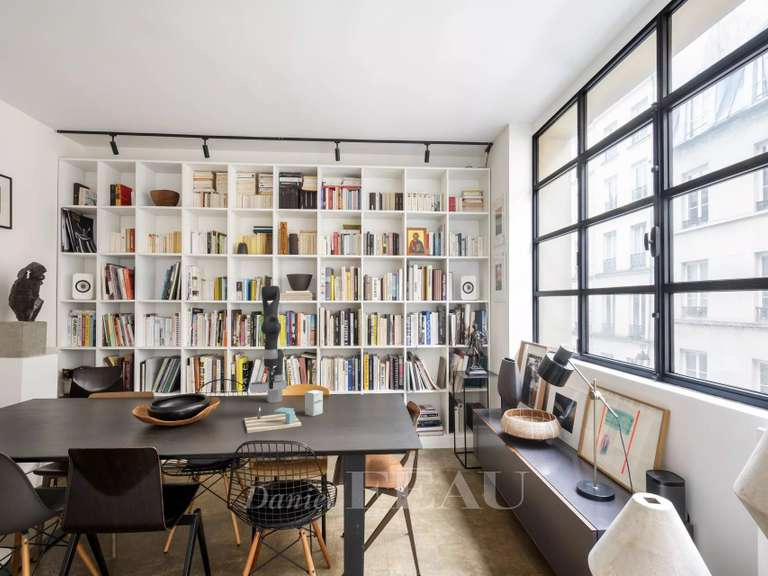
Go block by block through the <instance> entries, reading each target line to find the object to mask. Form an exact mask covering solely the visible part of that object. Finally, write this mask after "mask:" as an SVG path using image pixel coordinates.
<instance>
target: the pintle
mask: <svg viewBox="0 0 768 576" xmlns="http://www.w3.org/2000/svg"><path fill="white" fill-rule="evenodd" d="M261 411H262V407H261V406H257V407H256V417H257V419H261V415H262V413H261Z"/></svg>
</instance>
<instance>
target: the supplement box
mask: <svg viewBox="0 0 768 576" xmlns="http://www.w3.org/2000/svg"><path fill="white" fill-rule="evenodd" d="M323 399H324V391H322V390H318V389H317V390H316V389H313V390H309V391H305V392H304V415H306V416H310V417H314V416H315V417H316V416H318V415H322V414H323V412H324V411H323V410H324V409H323V407H324V406H323V405H324V404H323V403H324V400H323Z"/></svg>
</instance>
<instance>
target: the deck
mask: <svg viewBox="0 0 768 576" xmlns="http://www.w3.org/2000/svg"><path fill="white" fill-rule="evenodd" d="M243 420H244V421H243V422H244V425H245V429H246V433H247V434H251V433H257V432H259V433H260V432H266V431H271V430H272V431H273V430H282V429H289V428H295V427H302V422H301V421H300V419H299V418H298V417H297V416H296V415H295V421H294V422H293V423H291V424H286V414H281V413H276V414H270V415H262V416H261V419H257V416H254V417H253V416H252V417H251V416H250V417H244V418H243Z"/></svg>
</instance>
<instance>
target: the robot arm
mask: <svg viewBox="0 0 768 576" xmlns="http://www.w3.org/2000/svg"><path fill="white" fill-rule="evenodd" d="M260 291H261V302H262V310H263V322H262V324H261V328H260V330H261V333H262V334H264V347H263V348H264V349H263V350H264V351H263V367H267V368H266V379H267V382H269V389H273V382H274V381H283V369H284V368H283V366H284V350H282V349H278V341H279V336H280V332H281V331H282V325H281V323H280V320H279V318H278V317H279V316H278V313H279V312H278V311H279V310H278V309H279V304H280V299H281V290H280V287H279V286H278V285H264V286H262V287H261V290H260ZM270 301H271V303H270V304H269V302H270ZM266 400H267V401H266V402H267V403H270V404H275V403H280V402H281V403H282V401H283V389H280V390H269V391H267V399H266Z"/></svg>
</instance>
